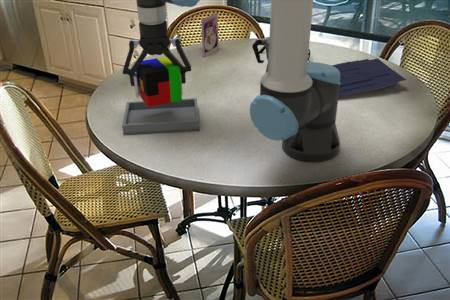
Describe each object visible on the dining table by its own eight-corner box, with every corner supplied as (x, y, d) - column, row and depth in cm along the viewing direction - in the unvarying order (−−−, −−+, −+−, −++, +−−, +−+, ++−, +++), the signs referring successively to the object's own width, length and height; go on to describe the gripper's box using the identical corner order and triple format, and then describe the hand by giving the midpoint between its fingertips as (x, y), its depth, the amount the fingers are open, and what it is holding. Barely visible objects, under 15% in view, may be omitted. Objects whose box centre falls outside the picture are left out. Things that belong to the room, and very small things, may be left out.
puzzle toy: (138, 94, 144) (134, 62, 139) (169, 87, 147) (167, 56, 142) (148, 107, 136) (145, 74, 131) (181, 100, 140) (179, 67, 135)
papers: (409, 89, 158) (409, 79, 156) (321, 109, 155) (321, 98, 153) (375, 63, 179) (375, 54, 177) (297, 80, 176) (296, 70, 174)
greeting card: (205, 57, 190) (203, 19, 183) (189, 54, 194) (187, 17, 186) (220, 49, 199) (219, 12, 191) (205, 46, 202) (203, 10, 194)
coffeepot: (290, 75, 174) (293, 25, 164) (299, 85, 166) (302, 33, 156) (248, 79, 171) (249, 28, 162) (255, 89, 163) (256, 37, 154)
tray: (199, 130, 139) (198, 121, 138) (123, 134, 138) (122, 125, 137) (197, 106, 153) (196, 98, 151) (128, 110, 151) (126, 101, 150)
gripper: (197, 15, 134) (200, 87, 145) (108, 18, 132) (118, 91, 144) (198, 23, 128) (201, 97, 139) (105, 26, 126) (116, 102, 137)
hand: (159, 94), depth 141 cm, fingers closed on puzzle toy, 12 cm apart
